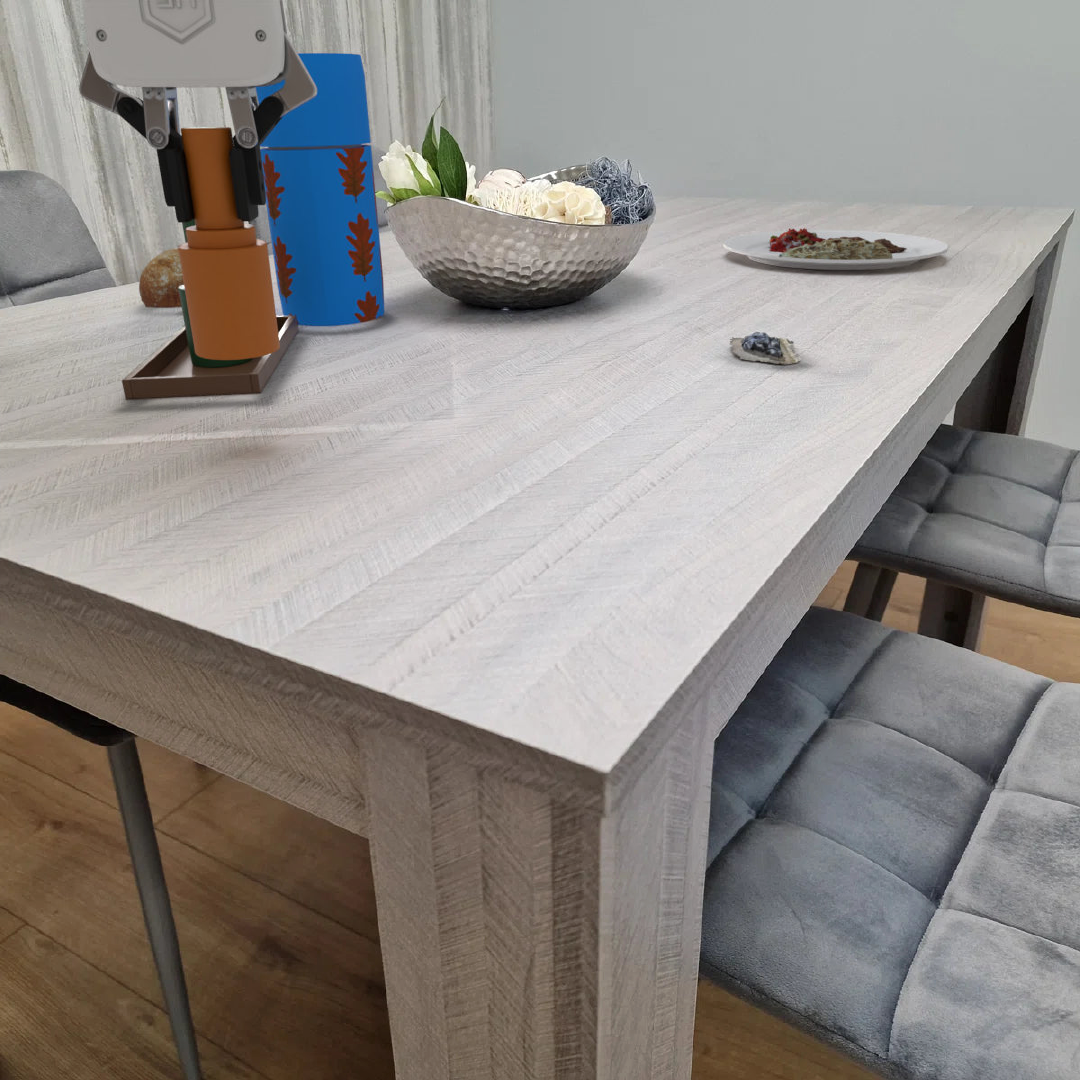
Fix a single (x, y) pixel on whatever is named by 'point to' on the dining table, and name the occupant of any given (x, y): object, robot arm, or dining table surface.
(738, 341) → the blueberry tart
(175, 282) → the bread roll
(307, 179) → the thermos
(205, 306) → the amber bottle
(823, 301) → the dining table surface
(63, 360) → the dining table surface
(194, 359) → the green bottle
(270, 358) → the tray
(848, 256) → the plated food
